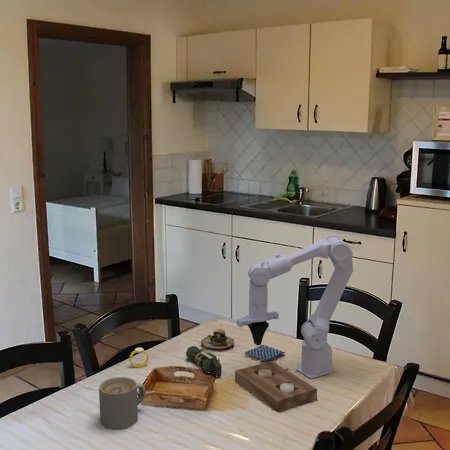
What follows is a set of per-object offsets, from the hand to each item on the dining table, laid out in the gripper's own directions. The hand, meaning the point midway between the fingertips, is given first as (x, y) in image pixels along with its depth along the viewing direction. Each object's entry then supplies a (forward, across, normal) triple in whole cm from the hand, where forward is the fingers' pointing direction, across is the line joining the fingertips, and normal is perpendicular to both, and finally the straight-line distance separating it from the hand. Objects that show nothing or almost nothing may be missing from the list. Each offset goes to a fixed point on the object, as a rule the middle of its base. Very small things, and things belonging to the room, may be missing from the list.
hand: (257, 344), depth 180 cm
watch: (+10, +30, -24) cm, 40 cm away
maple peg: (+10, +2, +7) cm, 12 cm away
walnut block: (+10, +2, +12) cm, 16 cm away
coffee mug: (+10, +46, +4) cm, 47 cm away
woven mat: (+11, -10, -10) cm, 18 cm away
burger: (+10, -1, -26) cm, 28 cm away
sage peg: (+10, +2, +18) cm, 20 cm away
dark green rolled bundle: (+10, +12, -12) cm, 20 cm away
